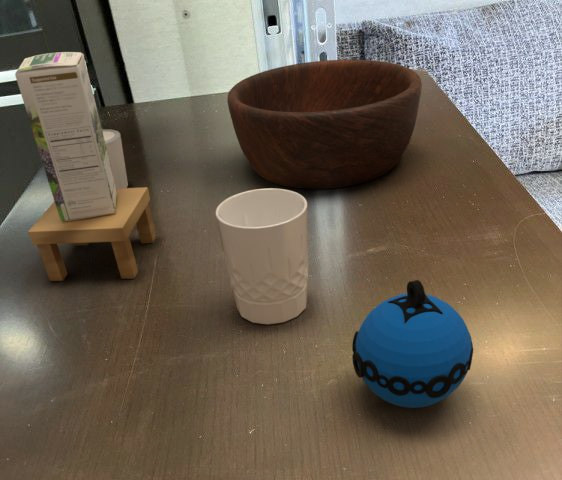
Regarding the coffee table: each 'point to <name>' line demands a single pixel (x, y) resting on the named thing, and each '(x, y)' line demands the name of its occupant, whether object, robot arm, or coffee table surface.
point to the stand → (96, 232)
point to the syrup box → (68, 134)
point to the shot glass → (116, 157)
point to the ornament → (412, 349)
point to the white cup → (266, 252)
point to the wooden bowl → (325, 121)
